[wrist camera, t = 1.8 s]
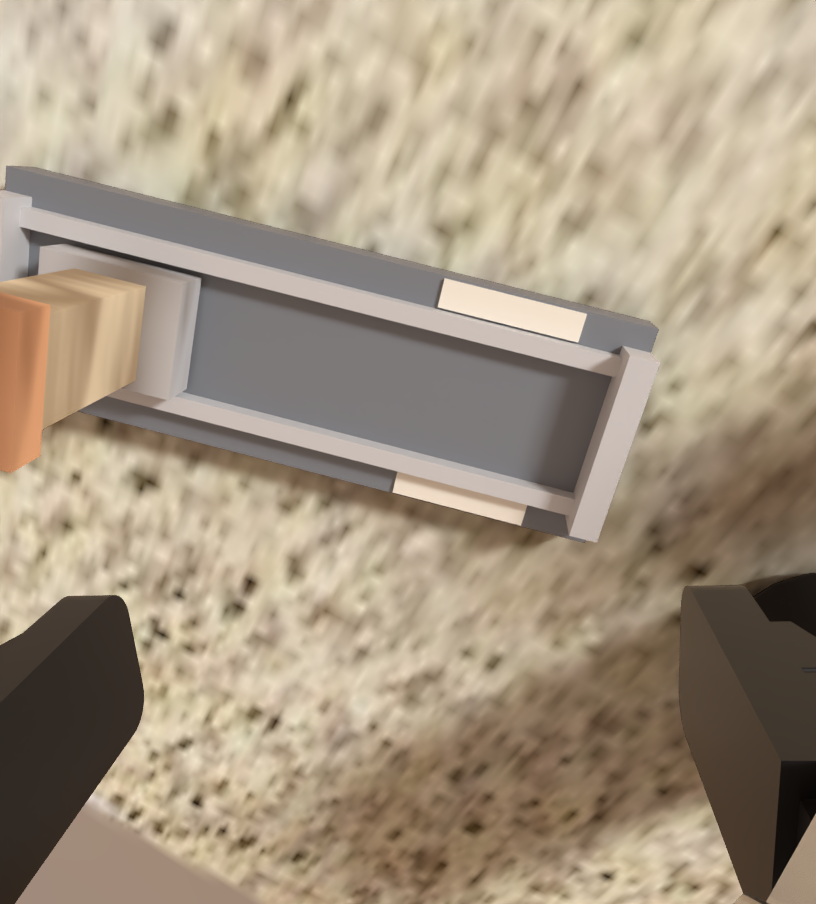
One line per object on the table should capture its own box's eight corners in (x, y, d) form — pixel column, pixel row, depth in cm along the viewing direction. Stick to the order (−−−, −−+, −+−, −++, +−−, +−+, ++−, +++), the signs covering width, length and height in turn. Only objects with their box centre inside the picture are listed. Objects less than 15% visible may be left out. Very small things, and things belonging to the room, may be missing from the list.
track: (21, 379, 37) (-33, 401, 34) (33, 167, 34) (-25, 164, 30) (580, 524, 37) (589, 563, 33) (649, 321, 33) (669, 338, 29)
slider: (57, 355, 34) (-145, 432, 24) (66, 243, 33) (-148, 270, 22) (186, 388, 34) (42, 481, 23) (201, 277, 32) (53, 321, 22)
